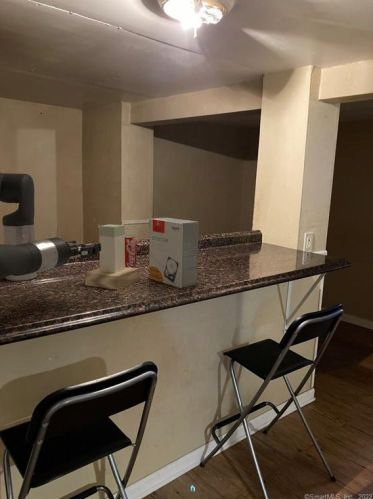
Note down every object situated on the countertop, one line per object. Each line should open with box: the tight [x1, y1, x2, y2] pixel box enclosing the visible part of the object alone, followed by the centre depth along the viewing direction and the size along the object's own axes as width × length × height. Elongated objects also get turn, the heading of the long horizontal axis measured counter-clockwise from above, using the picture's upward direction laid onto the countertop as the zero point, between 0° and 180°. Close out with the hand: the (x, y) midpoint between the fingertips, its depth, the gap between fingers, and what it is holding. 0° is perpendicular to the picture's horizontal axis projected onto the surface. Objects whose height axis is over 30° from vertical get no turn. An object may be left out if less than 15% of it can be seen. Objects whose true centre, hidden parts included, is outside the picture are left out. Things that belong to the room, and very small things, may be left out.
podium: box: [84, 267, 140, 291], centre depth 122 cm, size 12×12×4 cm
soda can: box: [125, 234, 138, 269], centre depth 136 cm, size 7×7×13 cm
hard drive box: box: [148, 217, 200, 289], centre depth 124 cm, size 16×8×20 cm, turn 45°
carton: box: [98, 224, 126, 273], centre depth 121 cm, size 6×6×14 cm
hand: (87, 245), depth 110 cm, fingers open, 8 cm apart
